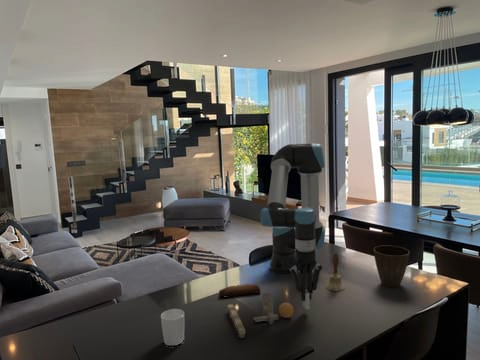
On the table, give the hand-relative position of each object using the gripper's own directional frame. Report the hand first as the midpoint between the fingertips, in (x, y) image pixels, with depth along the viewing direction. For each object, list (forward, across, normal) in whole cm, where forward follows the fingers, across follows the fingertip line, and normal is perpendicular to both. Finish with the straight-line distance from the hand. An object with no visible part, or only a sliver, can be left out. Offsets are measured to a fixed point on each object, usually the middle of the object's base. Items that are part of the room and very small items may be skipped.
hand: (306, 307), depth 141 cm
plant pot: (+2, +47, +13) cm, 49 cm away
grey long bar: (+2, -28, 0) cm, 28 cm away
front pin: (+1, -12, -1) cm, 12 cm away
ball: (-1, -9, -1) cm, 9 cm away
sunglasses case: (+3, -21, +26) cm, 34 cm away
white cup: (+2, -51, -5) cm, 51 cm away
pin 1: (+2, -16, +3) cm, 16 cm away
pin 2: (+2, -16, -3) cm, 16 cm away
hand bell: (+3, +22, +18) cm, 28 cm away
